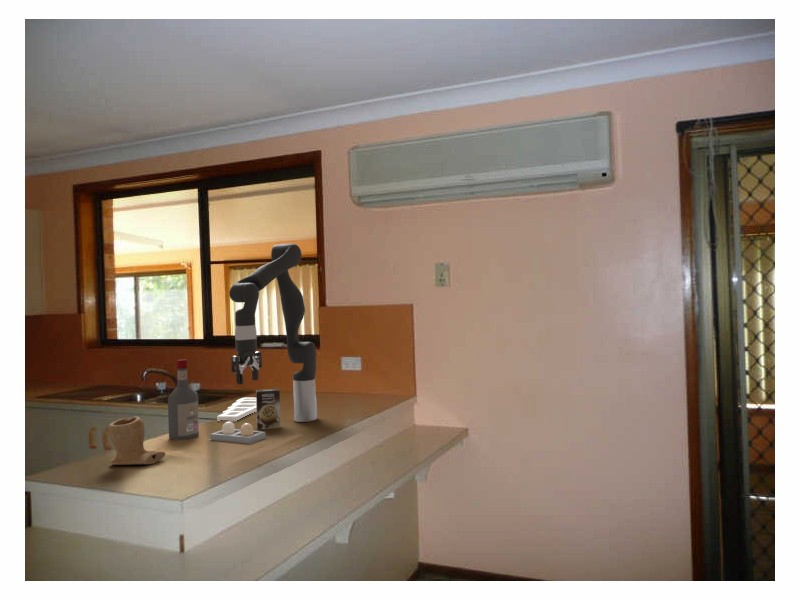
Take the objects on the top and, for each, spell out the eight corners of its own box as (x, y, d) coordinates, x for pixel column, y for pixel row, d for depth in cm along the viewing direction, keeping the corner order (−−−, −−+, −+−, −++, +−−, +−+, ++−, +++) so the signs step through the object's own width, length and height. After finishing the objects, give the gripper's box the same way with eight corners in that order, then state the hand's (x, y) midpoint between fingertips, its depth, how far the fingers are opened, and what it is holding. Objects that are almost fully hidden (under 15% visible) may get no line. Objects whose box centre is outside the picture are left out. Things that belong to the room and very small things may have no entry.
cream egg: (228, 435, 211) (227, 420, 211) (237, 436, 209) (237, 420, 209) (219, 438, 207) (219, 422, 207) (229, 439, 205) (229, 423, 205)
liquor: (202, 438, 214) (200, 359, 213) (182, 444, 206) (179, 361, 206) (186, 436, 218) (183, 358, 218) (165, 442, 210) (163, 360, 210)
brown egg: (246, 437, 207) (245, 421, 207) (256, 437, 206) (255, 421, 206) (238, 440, 203) (237, 424, 203) (248, 441, 202) (247, 424, 202)
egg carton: (227, 437, 215) (227, 428, 215) (268, 441, 207) (267, 431, 207) (208, 443, 206) (207, 434, 206) (250, 448, 198) (250, 438, 198)
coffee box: (257, 433, 220) (255, 391, 220) (256, 429, 226) (255, 389, 226) (281, 431, 222) (279, 390, 222) (280, 427, 229) (278, 387, 228)
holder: (236, 422, 243) (236, 416, 243) (197, 422, 246) (197, 416, 246) (276, 402, 288) (276, 397, 288) (243, 402, 291) (243, 397, 291)
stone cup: (100, 469, 178) (98, 421, 178) (124, 458, 189) (123, 413, 189) (144, 470, 175) (143, 421, 175) (166, 459, 187) (165, 413, 187)
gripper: (250, 336, 215) (252, 378, 216) (224, 339, 202) (226, 385, 203) (266, 336, 212) (268, 379, 213) (241, 339, 199) (243, 386, 200)
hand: (247, 382), depth 208 cm, fingers open, 8 cm apart
